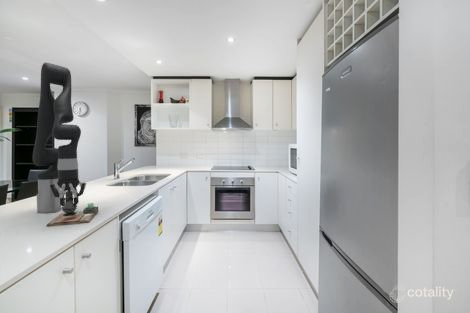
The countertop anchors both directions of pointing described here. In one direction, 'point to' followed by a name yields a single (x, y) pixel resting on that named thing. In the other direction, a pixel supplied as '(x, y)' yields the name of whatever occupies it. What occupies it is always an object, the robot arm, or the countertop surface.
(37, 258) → the countertop surface
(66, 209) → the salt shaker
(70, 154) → the robot arm
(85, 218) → the picture board
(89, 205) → the button
